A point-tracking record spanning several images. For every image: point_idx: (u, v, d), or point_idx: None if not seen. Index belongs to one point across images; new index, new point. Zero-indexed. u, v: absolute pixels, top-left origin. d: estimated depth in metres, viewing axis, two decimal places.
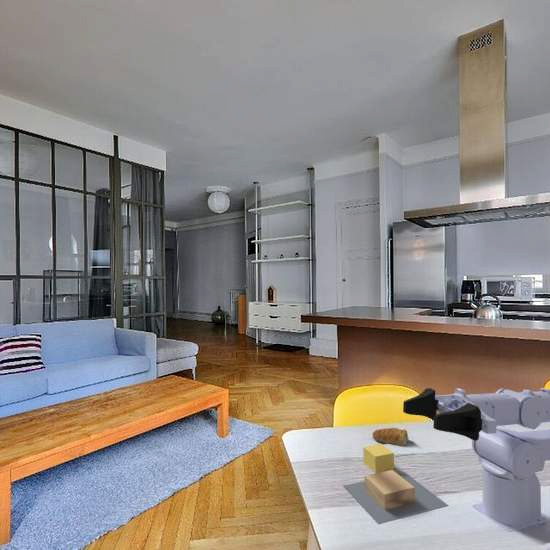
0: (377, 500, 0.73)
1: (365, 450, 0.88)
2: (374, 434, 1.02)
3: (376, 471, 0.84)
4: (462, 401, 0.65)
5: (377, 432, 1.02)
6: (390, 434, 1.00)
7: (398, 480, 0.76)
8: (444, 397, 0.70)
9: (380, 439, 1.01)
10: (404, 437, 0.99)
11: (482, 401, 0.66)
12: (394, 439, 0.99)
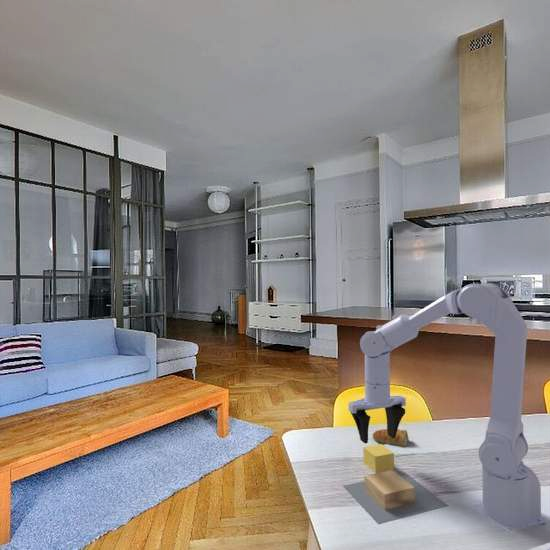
0: (377, 500, 0.73)
1: (365, 450, 0.88)
2: (374, 435, 1.02)
3: (376, 471, 0.84)
4: None
5: (377, 433, 1.02)
6: None
7: (398, 480, 0.76)
8: None
9: (380, 440, 1.00)
10: (404, 438, 0.98)
11: None
12: (394, 440, 0.98)
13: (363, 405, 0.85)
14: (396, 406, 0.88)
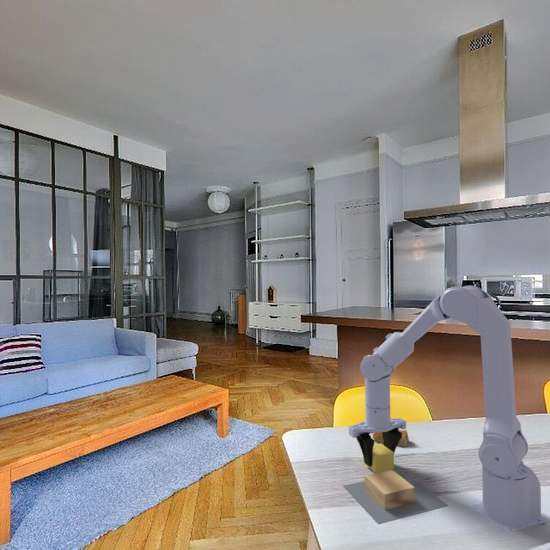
0: (377, 500, 0.73)
1: None
2: (374, 435, 1.02)
3: (376, 470, 0.84)
4: None
5: (377, 433, 1.02)
6: None
7: (398, 480, 0.76)
8: None
9: (381, 440, 1.00)
10: (405, 438, 0.98)
11: None
12: None
13: (363, 429, 0.85)
14: (396, 429, 0.88)
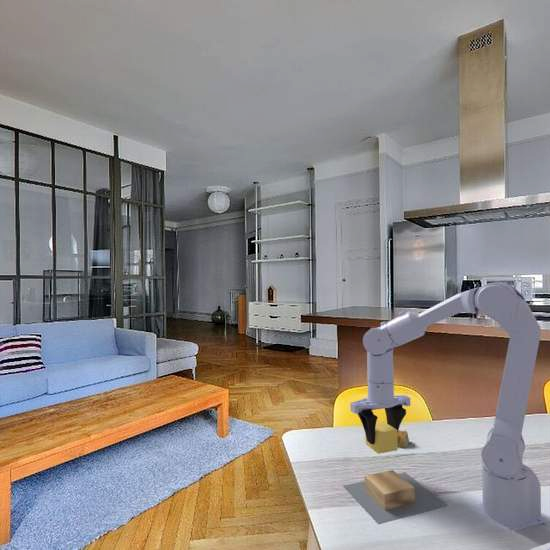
0: (377, 500, 0.73)
1: None
2: None
3: (379, 448, 0.81)
4: None
5: None
6: None
7: (398, 480, 0.76)
8: None
9: None
10: (405, 439, 0.98)
11: None
12: None
13: (366, 405, 0.81)
14: (400, 406, 0.84)
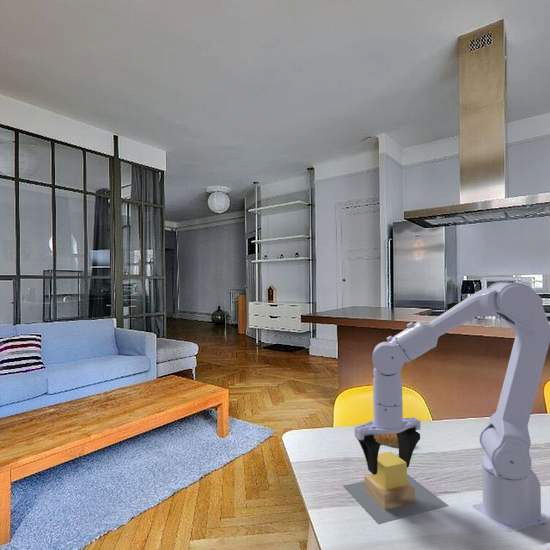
0: (377, 500, 0.73)
1: None
2: (375, 437, 1.00)
3: (386, 484, 0.73)
4: None
5: (378, 435, 1.00)
6: (392, 437, 0.98)
7: None
8: None
9: (381, 442, 0.99)
10: None
11: None
12: (396, 442, 0.97)
13: (372, 430, 0.73)
14: (409, 430, 0.76)
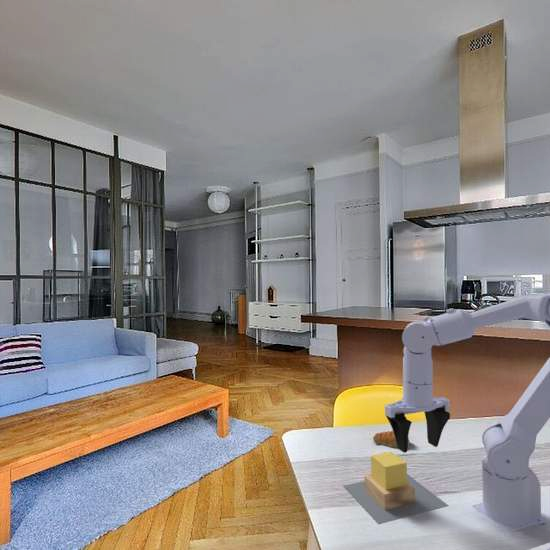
0: (377, 500, 0.73)
1: (373, 459, 0.76)
2: (375, 438, 1.00)
3: (386, 484, 0.73)
4: None
5: (378, 436, 1.00)
6: (392, 437, 0.98)
7: None
8: None
9: (382, 443, 0.98)
10: None
11: None
12: (396, 442, 0.97)
13: (403, 408, 0.73)
14: (439, 409, 0.76)
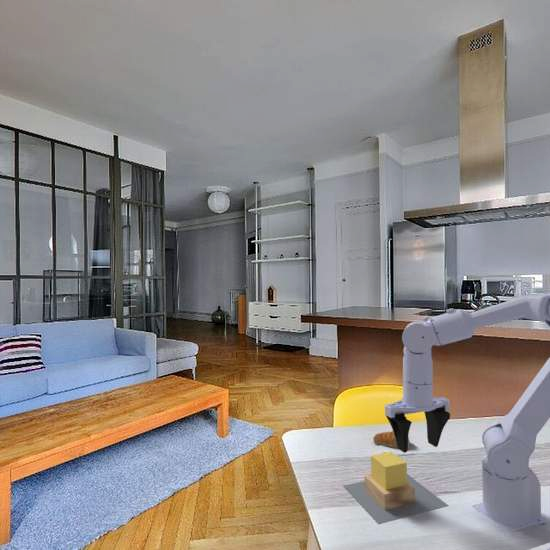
0: (377, 500, 0.73)
1: (373, 459, 0.76)
2: (375, 438, 1.00)
3: (386, 484, 0.73)
4: None
5: (378, 436, 1.00)
6: (392, 438, 0.97)
7: None
8: None
9: (382, 443, 0.98)
10: None
11: None
12: None
13: (403, 408, 0.73)
14: (439, 409, 0.76)
